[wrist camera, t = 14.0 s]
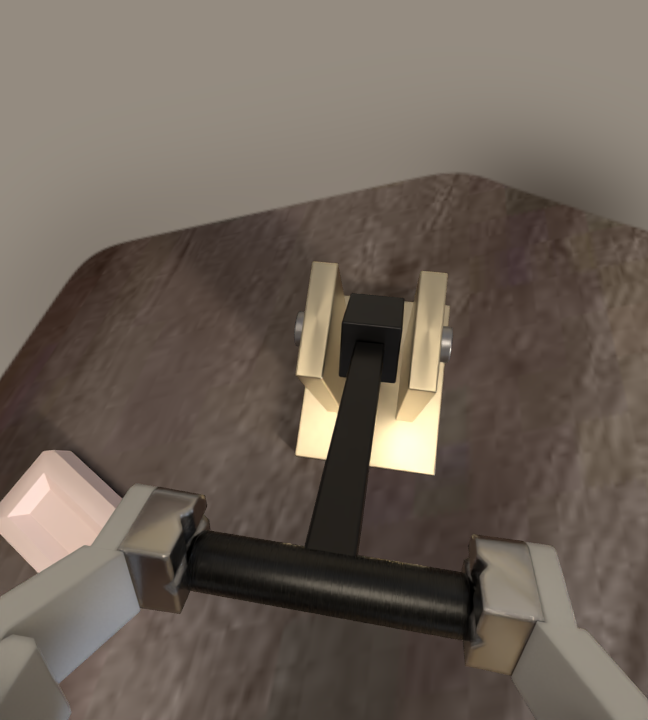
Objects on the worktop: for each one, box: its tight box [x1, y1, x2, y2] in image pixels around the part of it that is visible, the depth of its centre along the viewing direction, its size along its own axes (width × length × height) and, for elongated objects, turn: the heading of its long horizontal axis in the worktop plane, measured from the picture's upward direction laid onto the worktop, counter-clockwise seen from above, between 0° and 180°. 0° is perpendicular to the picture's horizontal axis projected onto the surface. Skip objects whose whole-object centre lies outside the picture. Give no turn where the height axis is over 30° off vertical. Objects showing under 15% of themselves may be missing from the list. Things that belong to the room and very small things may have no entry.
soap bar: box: [0, 450, 122, 573], centre depth 29 cm, size 5×9×2 cm, turn 52°
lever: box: [187, 293, 471, 640], centre depth 15 cm, size 13×6×2 cm
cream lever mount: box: [294, 262, 453, 476], centre depth 24 cm, size 10×8×13 cm
